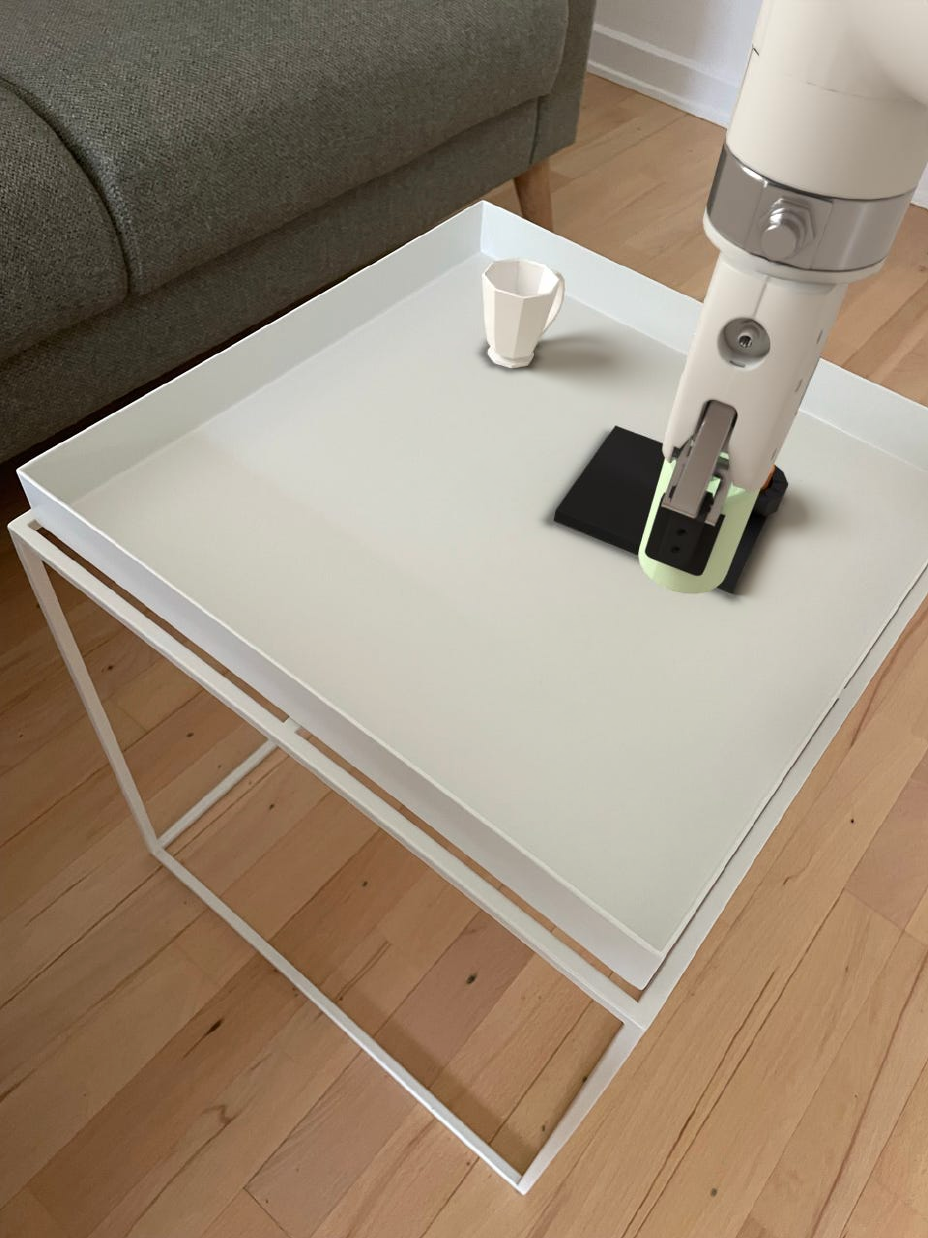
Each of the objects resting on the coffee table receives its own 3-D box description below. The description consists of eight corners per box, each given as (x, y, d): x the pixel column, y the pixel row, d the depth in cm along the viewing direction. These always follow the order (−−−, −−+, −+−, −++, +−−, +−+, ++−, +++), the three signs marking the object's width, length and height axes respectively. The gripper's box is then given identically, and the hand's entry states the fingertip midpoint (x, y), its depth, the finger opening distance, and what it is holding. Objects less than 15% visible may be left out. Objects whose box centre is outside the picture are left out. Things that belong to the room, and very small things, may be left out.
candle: (729, 600, 53) (776, 487, 47) (638, 589, 53) (673, 475, 47) (723, 536, 57) (766, 422, 50) (636, 526, 57) (668, 411, 50)
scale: (783, 497, 83) (795, 469, 80) (737, 596, 74) (749, 568, 72) (614, 433, 86) (621, 405, 84) (553, 520, 78) (559, 492, 76)
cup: (458, 351, 93) (465, 272, 87) (528, 316, 98) (539, 239, 92) (512, 385, 90) (524, 306, 84) (581, 347, 95) (597, 270, 89)
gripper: (857, 328, 33) (709, 668, 47) (929, 155, 44) (792, 473, 57) (648, 262, 35) (564, 608, 48) (766, 111, 45) (670, 430, 59)
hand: (688, 532), depth 53 cm, fingers closed on candle, 4 cm apart
